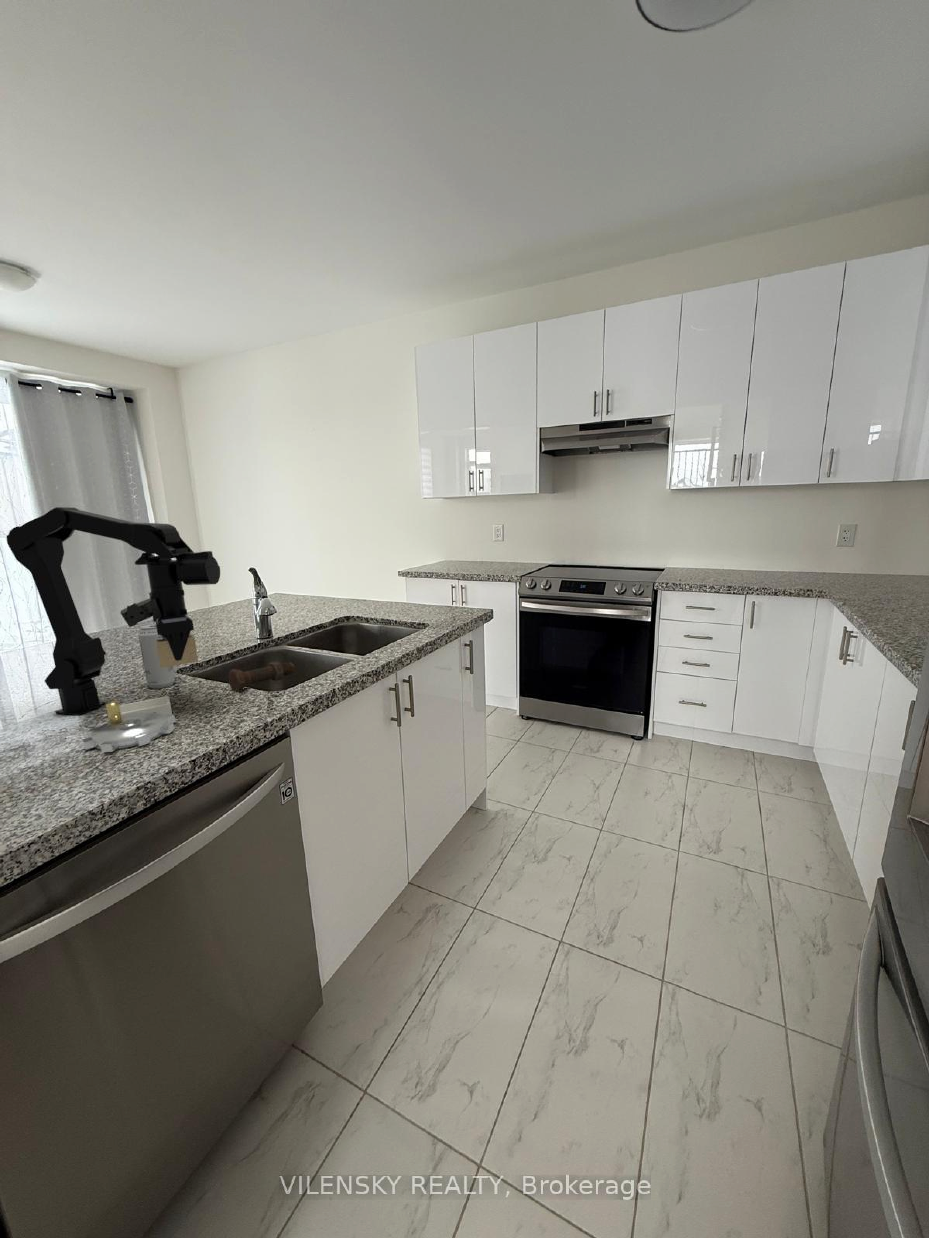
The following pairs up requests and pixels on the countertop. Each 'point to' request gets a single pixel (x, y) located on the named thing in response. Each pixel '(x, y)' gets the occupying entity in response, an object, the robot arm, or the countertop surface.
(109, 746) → the sprocket
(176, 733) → the countertop surface
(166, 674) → the energy drink can
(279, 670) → the bolt
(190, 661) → the link
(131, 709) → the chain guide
